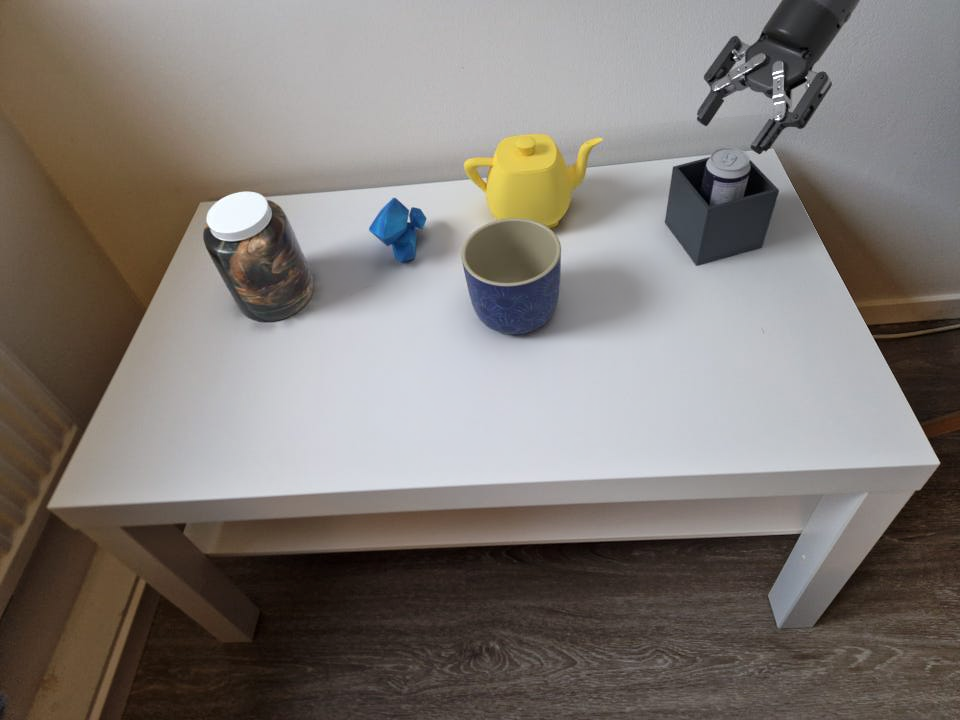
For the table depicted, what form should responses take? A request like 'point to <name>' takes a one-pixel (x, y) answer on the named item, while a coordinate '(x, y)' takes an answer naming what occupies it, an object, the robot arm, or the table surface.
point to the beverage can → (725, 176)
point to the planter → (513, 274)
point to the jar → (258, 256)
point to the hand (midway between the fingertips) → (727, 136)
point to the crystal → (398, 228)
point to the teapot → (530, 178)
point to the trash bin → (718, 214)
